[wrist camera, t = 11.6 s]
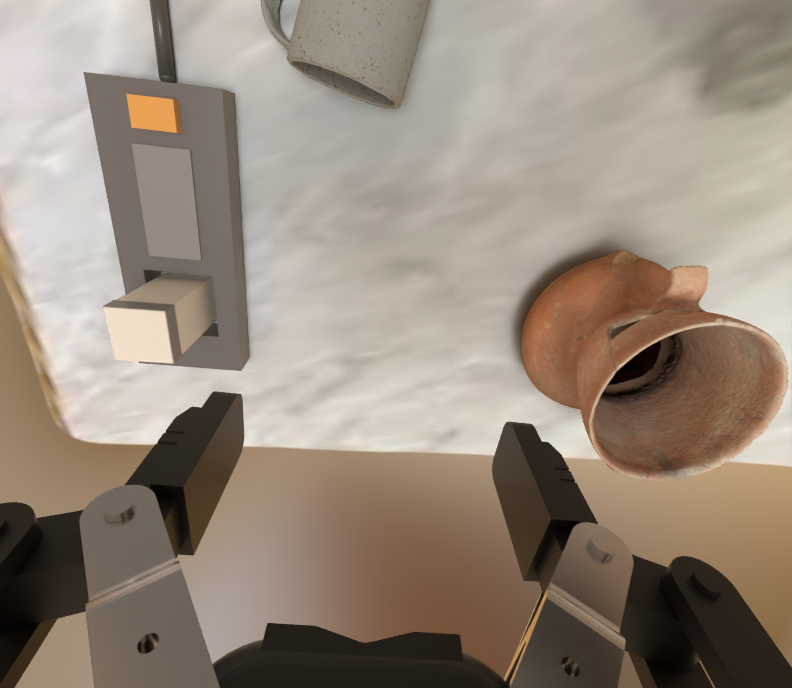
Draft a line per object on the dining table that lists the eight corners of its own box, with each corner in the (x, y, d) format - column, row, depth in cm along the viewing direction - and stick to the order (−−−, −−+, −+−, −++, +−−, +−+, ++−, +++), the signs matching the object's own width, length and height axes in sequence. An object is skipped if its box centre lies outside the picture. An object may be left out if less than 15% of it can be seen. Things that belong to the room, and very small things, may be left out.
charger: (167, 270, 35) (102, 306, 27) (215, 274, 36) (165, 311, 27) (174, 315, 37) (115, 361, 29) (220, 318, 37) (174, 365, 29)
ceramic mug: (436, -17, 27) (451, -75, 20) (398, 115, 31) (400, 103, 24) (280, -84, 26) (239, -171, 19) (258, 62, 29) (216, 34, 22)
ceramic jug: (526, 232, 35) (609, 280, 22) (691, 234, 35) (867, 282, 22) (499, 407, 42) (549, 519, 30) (635, 407, 43) (742, 517, 30)
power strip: (85, -50, 26) (46, -76, 23) (227, -30, 27) (207, -52, 24) (153, 350, 39) (133, 367, 36) (249, 358, 39) (238, 375, 36)
